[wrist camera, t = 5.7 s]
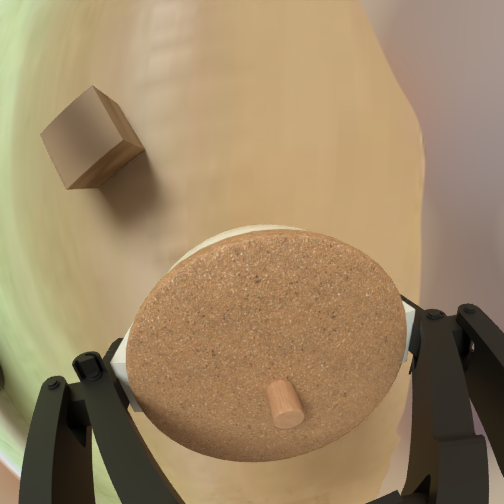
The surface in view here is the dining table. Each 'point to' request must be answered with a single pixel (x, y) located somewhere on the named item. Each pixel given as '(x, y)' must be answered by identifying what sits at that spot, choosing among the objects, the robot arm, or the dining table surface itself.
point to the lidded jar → (266, 344)
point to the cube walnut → (90, 140)
